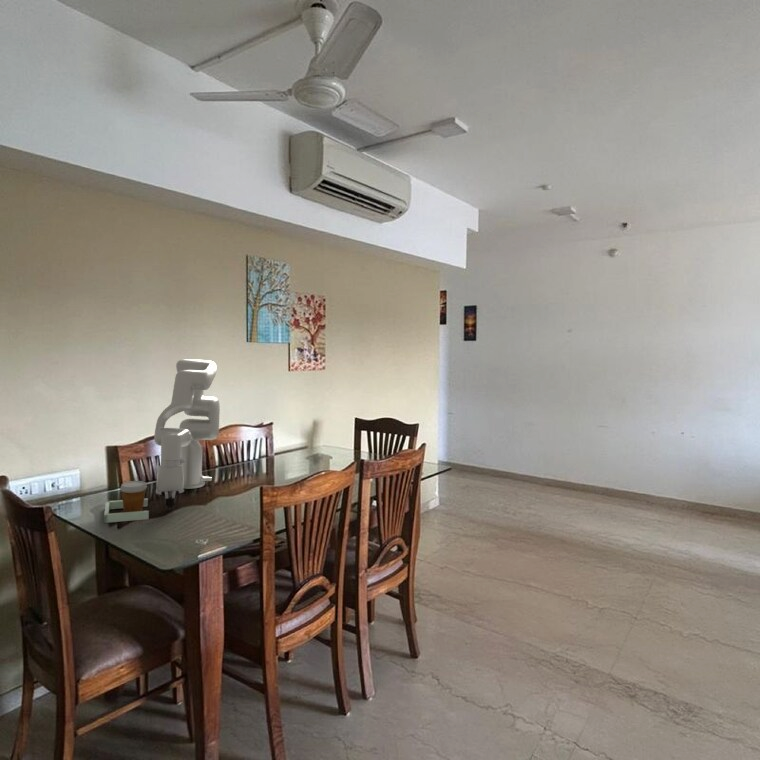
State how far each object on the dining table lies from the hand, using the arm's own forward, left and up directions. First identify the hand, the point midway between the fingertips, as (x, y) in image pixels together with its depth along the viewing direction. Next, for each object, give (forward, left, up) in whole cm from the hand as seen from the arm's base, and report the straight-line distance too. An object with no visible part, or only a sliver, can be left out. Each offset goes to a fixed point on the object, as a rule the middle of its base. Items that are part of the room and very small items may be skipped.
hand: (169, 507), depth 212 cm
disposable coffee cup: (+13, +1, -2) cm, 13 cm away
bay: (+15, 0, -1) cm, 15 cm away
